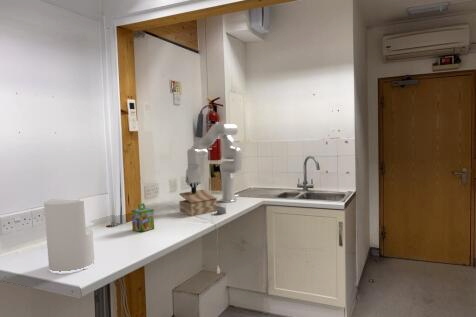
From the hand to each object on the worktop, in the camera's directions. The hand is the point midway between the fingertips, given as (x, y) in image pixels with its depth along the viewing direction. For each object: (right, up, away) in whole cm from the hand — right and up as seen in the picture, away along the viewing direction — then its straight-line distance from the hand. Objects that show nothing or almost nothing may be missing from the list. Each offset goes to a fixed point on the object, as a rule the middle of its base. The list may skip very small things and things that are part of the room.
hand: (193, 192), depth 242 cm
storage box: (+3, -13, -1) cm, 13 cm away
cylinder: (-39, -21, -96) cm, 106 cm away
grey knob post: (+20, -13, -9) cm, 25 cm away
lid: (+3, -3, -2) cm, 5 cm away
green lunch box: (-24, -17, -42) cm, 51 cm away
